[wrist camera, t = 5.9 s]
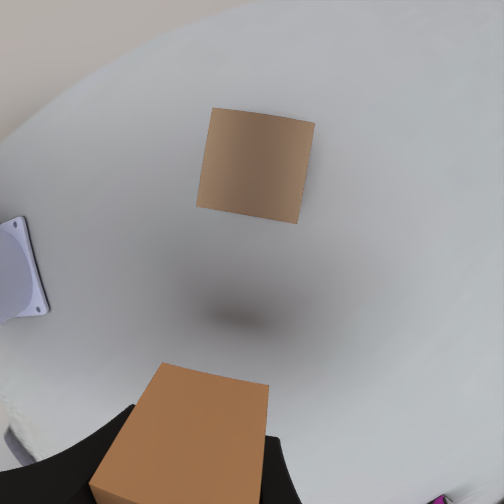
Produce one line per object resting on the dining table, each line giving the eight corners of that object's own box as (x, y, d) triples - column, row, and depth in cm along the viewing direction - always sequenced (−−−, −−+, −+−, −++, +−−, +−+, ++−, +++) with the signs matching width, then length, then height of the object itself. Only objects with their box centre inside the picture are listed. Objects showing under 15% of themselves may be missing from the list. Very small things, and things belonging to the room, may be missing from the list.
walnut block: (223, 197, 18) (196, 206, 12) (234, 129, 17) (212, 107, 11) (291, 209, 18) (297, 224, 12) (303, 141, 17) (314, 123, 11)
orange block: (161, 431, 12) (113, 537, 6) (162, 362, 11) (88, 483, 5) (250, 451, 12) (233, 569, 6) (269, 385, 11) (256, 529, 5)
